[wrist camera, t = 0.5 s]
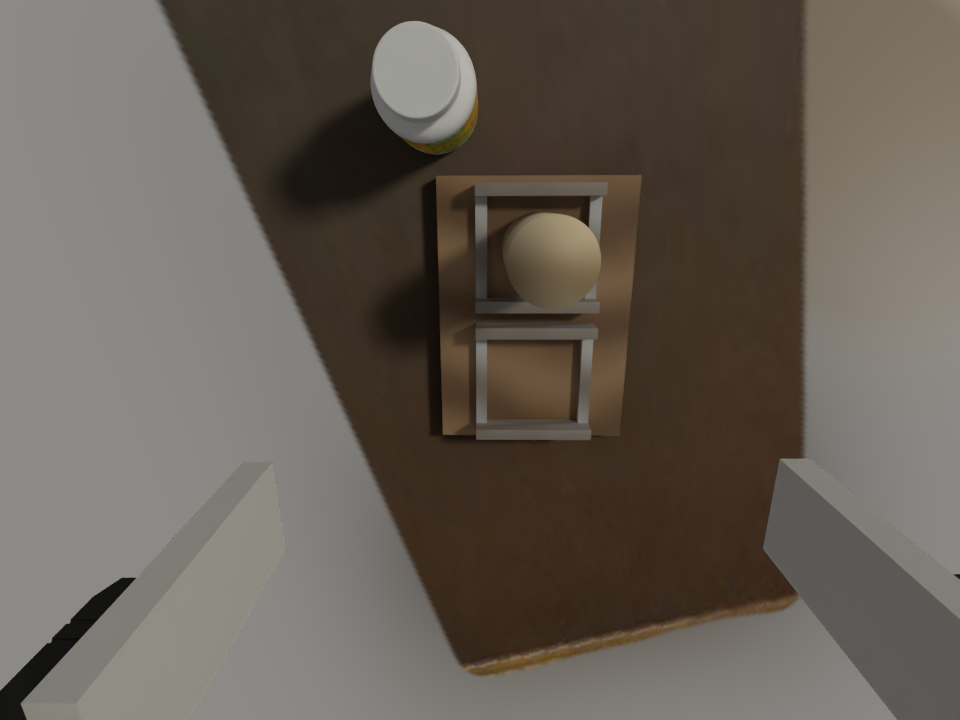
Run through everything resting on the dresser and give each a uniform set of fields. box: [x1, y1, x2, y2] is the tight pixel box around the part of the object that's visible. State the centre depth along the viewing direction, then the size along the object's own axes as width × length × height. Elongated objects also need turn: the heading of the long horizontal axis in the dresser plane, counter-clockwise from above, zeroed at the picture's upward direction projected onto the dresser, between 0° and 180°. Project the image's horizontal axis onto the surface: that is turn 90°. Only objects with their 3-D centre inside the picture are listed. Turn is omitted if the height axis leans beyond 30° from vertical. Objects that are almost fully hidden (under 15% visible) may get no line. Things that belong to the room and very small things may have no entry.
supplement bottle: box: [371, 21, 478, 155], centre depth 27 cm, size 5×5×10 cm
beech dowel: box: [502, 212, 601, 309], centre depth 29 cm, size 5×5×9 cm
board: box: [436, 175, 642, 440], centre depth 34 cm, size 18×13×3 cm
